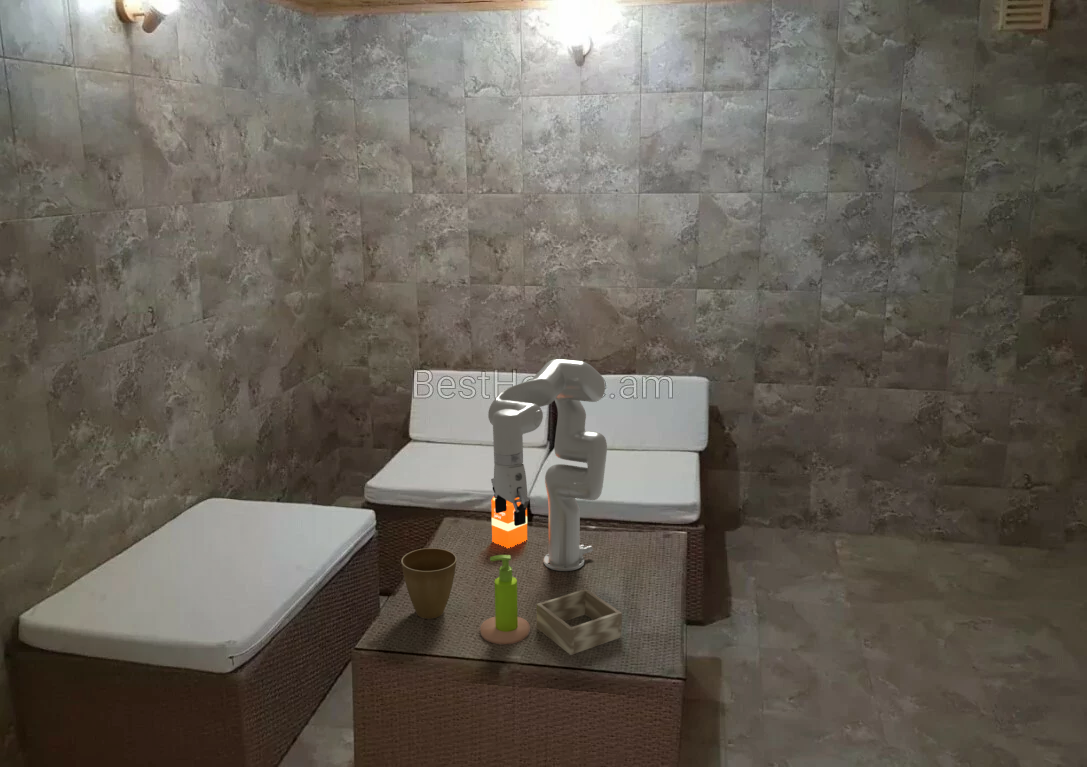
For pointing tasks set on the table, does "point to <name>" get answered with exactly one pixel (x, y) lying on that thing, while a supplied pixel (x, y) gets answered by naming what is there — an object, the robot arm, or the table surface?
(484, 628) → the peach oval pebble
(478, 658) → the table surface
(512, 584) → the soap dispenser
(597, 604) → the open wooden box
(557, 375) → the robot arm
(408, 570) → the plant pot
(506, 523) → the orange juice
